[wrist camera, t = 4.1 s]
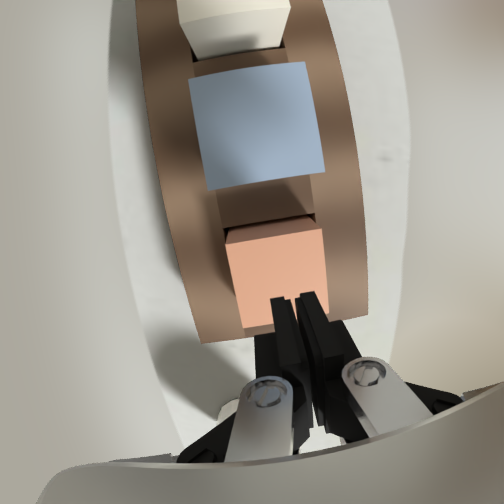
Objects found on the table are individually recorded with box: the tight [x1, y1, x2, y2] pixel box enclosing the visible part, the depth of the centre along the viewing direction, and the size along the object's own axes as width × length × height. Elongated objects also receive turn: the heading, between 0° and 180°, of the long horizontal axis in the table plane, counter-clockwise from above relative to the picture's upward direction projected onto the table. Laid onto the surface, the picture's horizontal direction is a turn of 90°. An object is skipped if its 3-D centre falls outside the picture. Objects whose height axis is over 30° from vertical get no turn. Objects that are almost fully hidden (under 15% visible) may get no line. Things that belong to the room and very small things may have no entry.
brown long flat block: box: [135, 0, 368, 344], centre depth 19 cm, size 26×12×5 cm, turn 10°
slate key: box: [188, 62, 325, 191], centre depth 14 cm, size 5×5×6 cm
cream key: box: [176, 0, 291, 61], centre depth 12 cm, size 5×5×6 cm
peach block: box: [225, 214, 329, 328], centre depth 19 cm, size 5×5×6 cm
